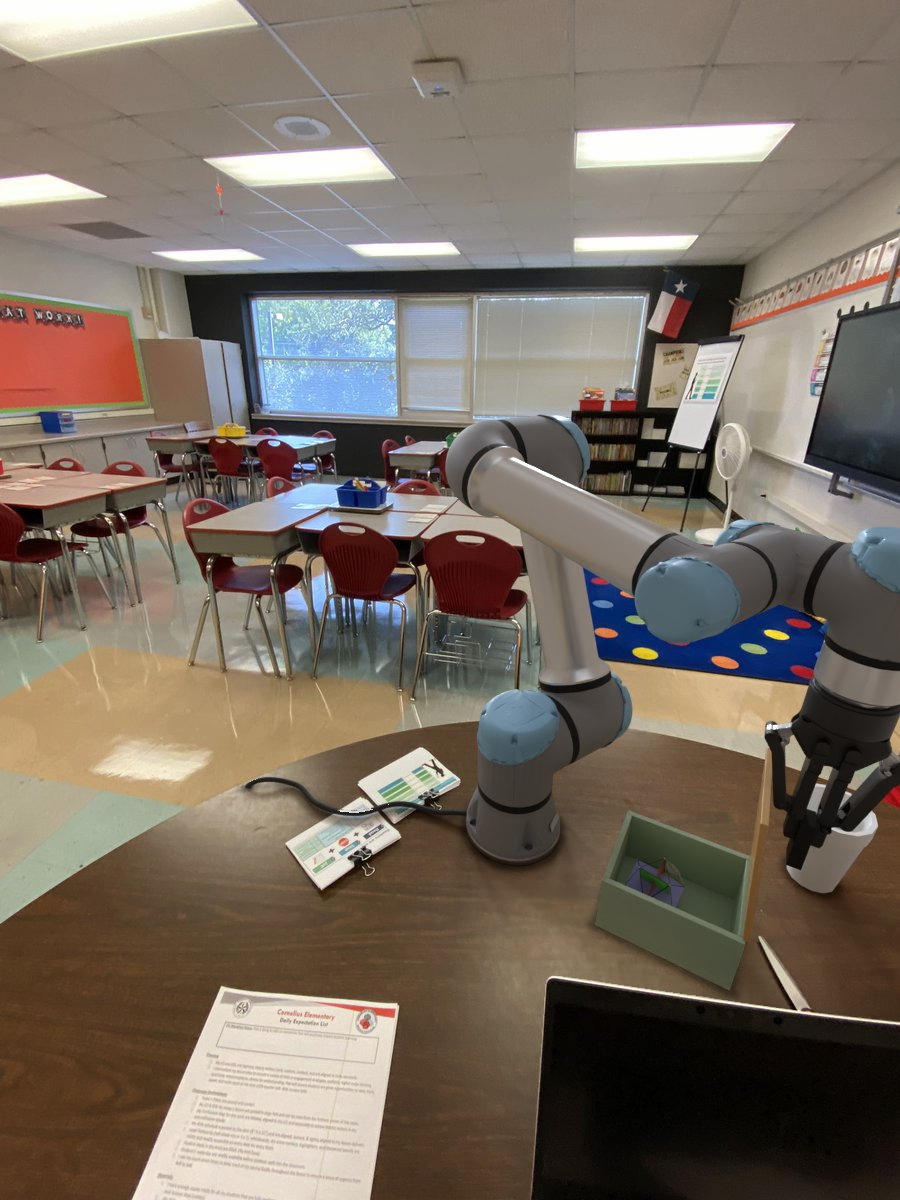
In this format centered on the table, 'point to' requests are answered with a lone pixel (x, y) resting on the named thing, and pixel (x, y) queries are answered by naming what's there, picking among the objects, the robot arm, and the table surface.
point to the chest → (704, 912)
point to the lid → (758, 846)
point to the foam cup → (833, 850)
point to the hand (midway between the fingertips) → (793, 858)
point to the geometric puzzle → (657, 882)
